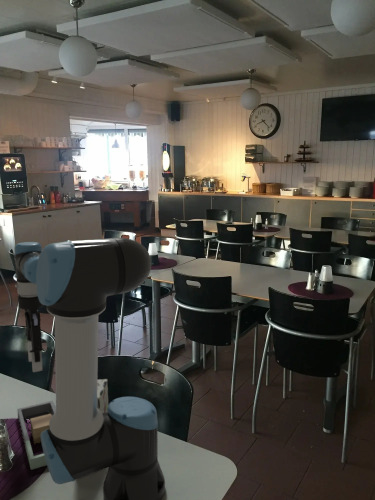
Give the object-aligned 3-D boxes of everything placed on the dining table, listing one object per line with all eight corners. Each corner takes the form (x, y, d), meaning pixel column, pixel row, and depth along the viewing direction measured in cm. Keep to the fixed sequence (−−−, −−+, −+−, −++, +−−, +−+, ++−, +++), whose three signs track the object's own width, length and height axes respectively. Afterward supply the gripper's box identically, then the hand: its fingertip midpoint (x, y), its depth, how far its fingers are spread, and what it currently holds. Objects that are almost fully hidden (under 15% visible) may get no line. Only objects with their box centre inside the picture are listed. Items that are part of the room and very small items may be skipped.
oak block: (55, 439, 126) (54, 423, 125) (34, 444, 123) (33, 429, 122) (51, 428, 131) (50, 413, 130) (31, 433, 129) (30, 418, 128)
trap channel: (72, 457, 118) (72, 447, 117) (30, 469, 113) (30, 459, 112) (53, 408, 142) (52, 400, 142) (18, 417, 137) (17, 408, 136)
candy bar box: (93, 427, 132) (92, 378, 129) (109, 428, 131) (108, 378, 129) (84, 450, 120) (82, 397, 118) (101, 451, 120) (100, 397, 118)
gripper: (13, 287, 134) (18, 355, 138) (22, 304, 116) (27, 382, 120) (38, 284, 138) (42, 351, 142) (50, 301, 120) (54, 376, 124)
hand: (35, 365), depth 131 cm, fingers open, 8 cm apart
